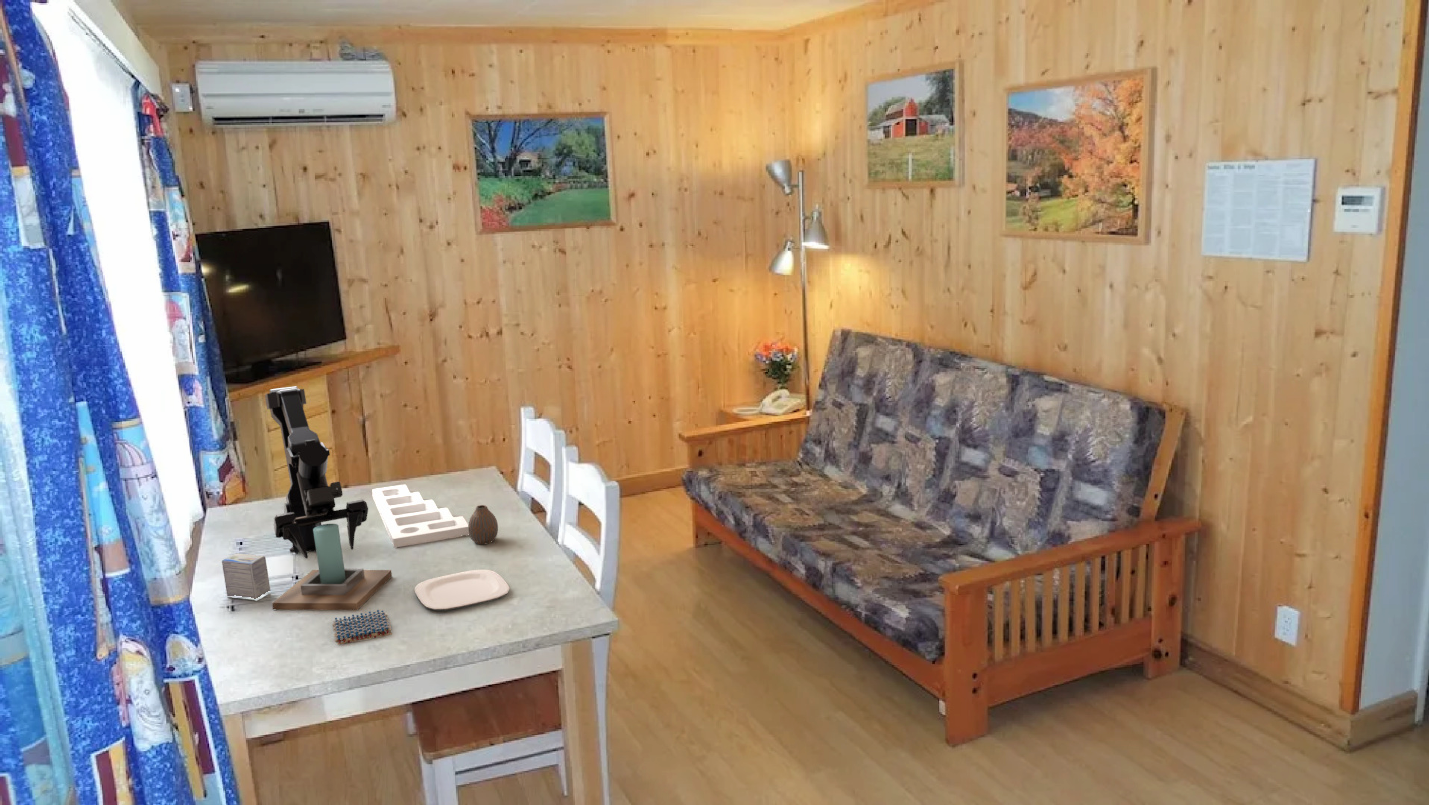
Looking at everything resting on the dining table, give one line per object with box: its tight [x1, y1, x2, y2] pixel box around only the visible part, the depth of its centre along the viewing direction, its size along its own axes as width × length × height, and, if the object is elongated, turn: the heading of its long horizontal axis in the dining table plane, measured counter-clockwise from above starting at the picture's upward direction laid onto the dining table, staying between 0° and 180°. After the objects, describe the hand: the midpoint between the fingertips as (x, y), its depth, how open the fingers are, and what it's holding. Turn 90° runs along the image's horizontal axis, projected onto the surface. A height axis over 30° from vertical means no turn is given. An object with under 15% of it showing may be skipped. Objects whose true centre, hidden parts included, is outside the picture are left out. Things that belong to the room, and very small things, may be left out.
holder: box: [371, 484, 469, 548], centre depth 273 cm, size 45×18×3 cm, turn 24°
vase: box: [467, 504, 499, 545], centre depth 251 cm, size 7×7×9 cm
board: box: [271, 568, 393, 611], centre depth 224 cm, size 18×18×4 cm
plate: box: [414, 569, 511, 611], centre depth 221 cm, size 18×18×2 cm
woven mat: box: [332, 609, 393, 646], centre depth 205 cm, size 10×11×2 cm
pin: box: [313, 523, 346, 584], centre depth 222 cm, size 5×5×13 cm
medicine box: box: [221, 553, 272, 599], centre depth 223 cm, size 8×4×9 cm, turn 71°
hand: (329, 553), depth 222 cm, fingers open, 9 cm apart
